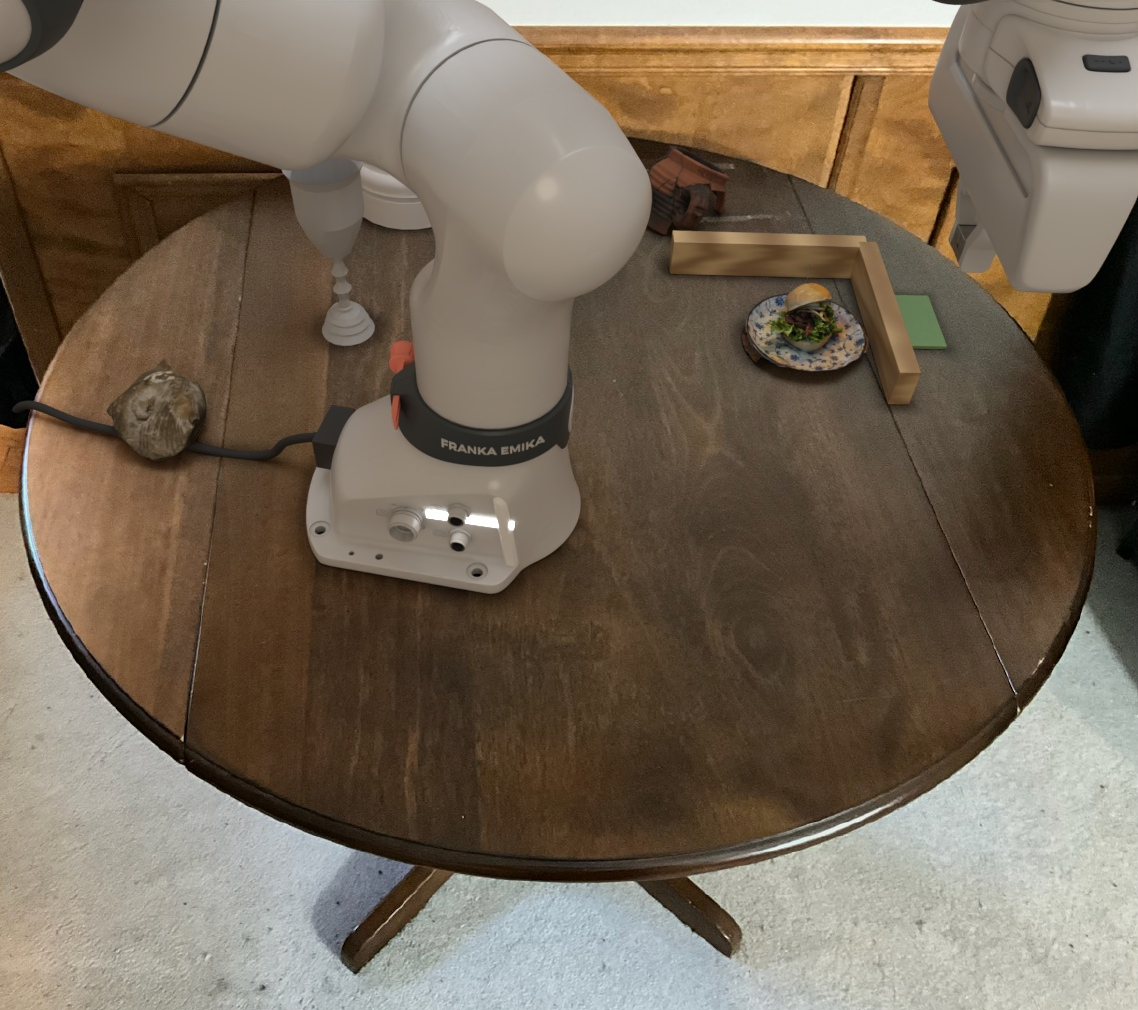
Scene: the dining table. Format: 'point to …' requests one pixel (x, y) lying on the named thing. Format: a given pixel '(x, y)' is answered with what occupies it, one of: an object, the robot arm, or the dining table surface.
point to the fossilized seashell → (159, 413)
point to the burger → (804, 331)
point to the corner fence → (825, 261)
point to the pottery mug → (683, 190)
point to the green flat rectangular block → (920, 322)
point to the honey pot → (390, 201)
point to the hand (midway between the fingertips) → (966, 258)
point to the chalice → (334, 236)
